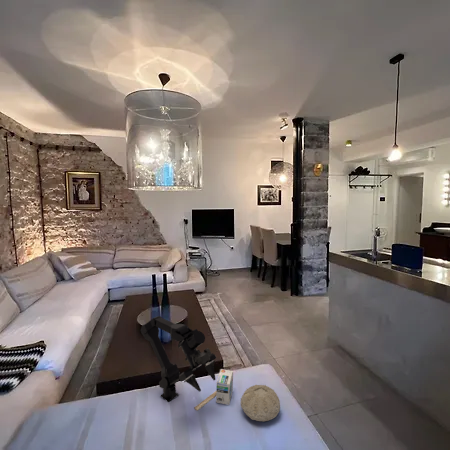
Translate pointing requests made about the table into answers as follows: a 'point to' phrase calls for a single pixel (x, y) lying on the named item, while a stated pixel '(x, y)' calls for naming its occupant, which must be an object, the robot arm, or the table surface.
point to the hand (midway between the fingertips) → (207, 385)
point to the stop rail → (205, 401)
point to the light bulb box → (224, 387)
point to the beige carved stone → (260, 403)
